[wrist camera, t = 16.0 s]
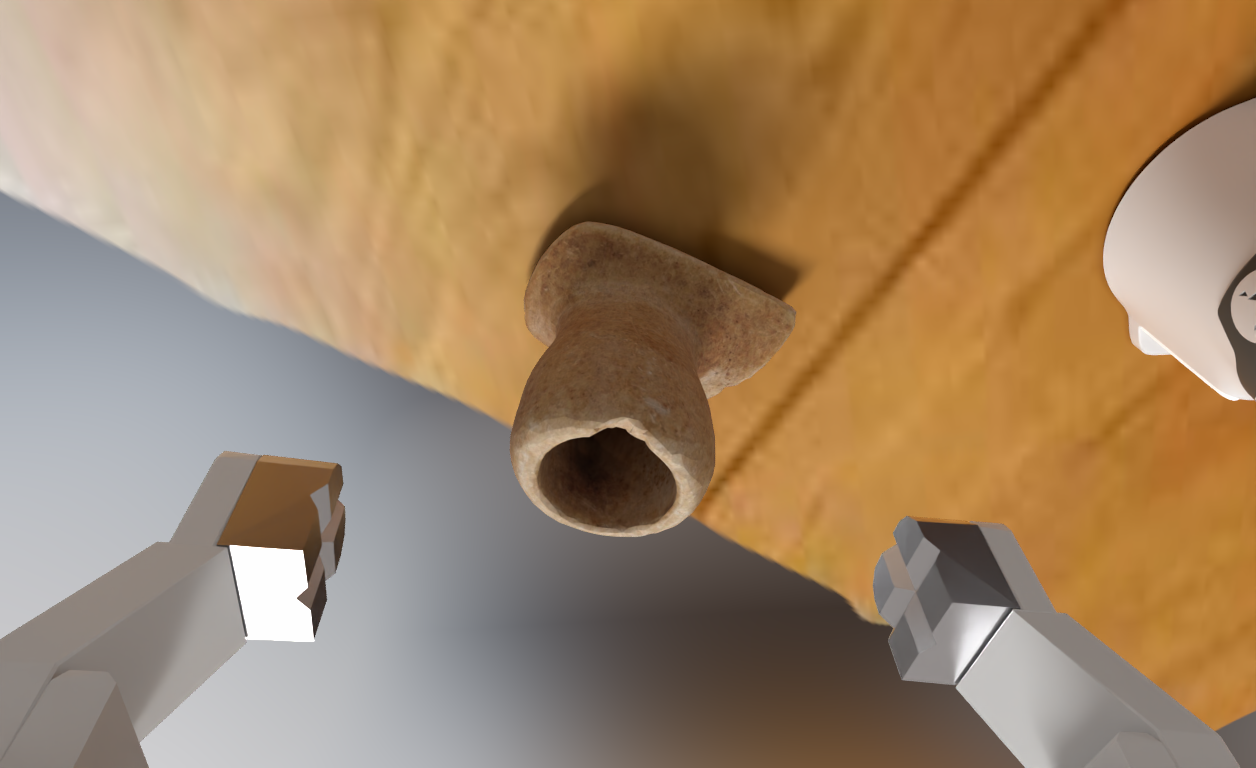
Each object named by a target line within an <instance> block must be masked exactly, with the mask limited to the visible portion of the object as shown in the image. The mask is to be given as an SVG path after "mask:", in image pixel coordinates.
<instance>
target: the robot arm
mask: <svg viewBox="0 0 1256 768" xmlns="http://www.w3.org/2000/svg"><path fill="white" fill-rule="evenodd" d="M1103 265H1104V272H1105V276H1106V280H1107V282H1108V285H1109V287H1110V289H1111V291H1112V292H1113V294H1114V295H1115V297H1116V298H1117V299H1118V300H1119V301H1120V303H1121V304H1122V305H1123V306H1124V308H1125V309H1126V311H1127V313H1128V315H1129V332H1130V338H1131V341H1132V343H1133V344H1134V345H1135V346H1136V347H1137V348H1138V349H1140V350H1141V351H1142V352H1143V353H1145V354H1148V355H1168V354H1172V355H1173V356H1174V357H1175V358H1176V359H1178V360H1179V361H1180V362H1181V363H1182V364H1184V365H1185V366H1186V367H1187V368H1188V369H1190V370H1191V371H1192V372H1193V373H1194V374H1196V375H1197V376H1198V377H1199V378H1201V379H1202V380H1203V381H1204V382H1205V383H1207V384H1208V385H1209V386H1210V387H1212V388H1213V389H1214V390H1215V391H1216V392H1218V393H1219V394H1220V395H1222V396H1223V397H1225V398H1227V399H1230V400H1234V401H1235V400H1238V399H1244V400H1255V401H1256V98H1254V99H1251V100H1249V101H1246V102H1244V103H1241V104H1238V105H1236V106H1233V107H1231V108H1229V109H1226V110H1224V111H1222V112H1220V113H1218V114H1216V115H1214V116H1212V117H1210V118H1208V119H1207V120H1205V121H1203V122H1201V123H1200V124H1198V125H1196V126H1195V127H1193V128H1192V129H1190V130H1189V131H1187V132H1186V133H1185V134H1183V135H1182V136H1180V137H1179V138H1178V139H1176V140H1175V141H1174V142H1173V143H1171V144H1170V145H1169V146H1168V147H1167V148H1165V149H1164V150H1163V151H1162V152H1161V153H1160V154H1159V155H1158V156H1157V157H1156V158H1155V159H1154V160H1153V161H1152V162H1151V163H1150V164H1149V165H1148V166H1147V167H1146V168H1145V169H1144V170H1143V171H1142V172H1141V174H1140V175H1139V176H1138V177H1137V178H1136V180H1135V181H1134V182H1133V184H1132V185H1131V186H1130V188H1129V189H1128V191H1127V192H1126V194H1125V195H1124V197H1123V198H1122V200H1121V202H1120V204H1119V205H1118V207H1117V209H1116V211H1115V213H1114V216H1113V218H1112V220H1111V223H1110V225H1109V228H1108V232H1107V235H1106V239H1105V244H1104V253H1103ZM342 486H343V476H342V467H341V466H340V465H339V464H338V463H328V462H321V461H312V460H304V459H295V458H286V457H278V456H269V455H263V456H262V455H254V454H246V453H237V452H229V451H224V452H223V453H222V454H221V455H219V456H218V457H217V458H216V459H215V460H214V462H213V464H212V466H211V468H210V469H209V471H208V473H207V475H206V477H205V478H204V480H203V482H202V484H201V486H200V487H199V489H198V491H197V493H196V495H195V497H194V498H193V500H192V502H191V504H190V506H189V507H188V509H187V511H186V513H185V515H184V517H183V518H182V520H181V522H180V524H179V526H178V528H177V529H176V531H175V533H174V535H173V537H172V538H171V540H170V542H169V543H168V542H156V543H155V544H153V545H151V546H150V547H148V548H146V549H145V550H143V551H142V552H140V553H138V554H137V555H135V556H134V557H132V558H130V559H129V560H127V561H125V562H124V563H122V564H121V565H119V566H117V567H116V568H114V569H113V570H111V571H110V572H108V573H106V574H105V575H103V576H101V577H100V578H98V579H96V580H95V581H93V582H92V583H90V584H89V585H87V586H85V587H84V588H82V589H80V590H79V591H77V592H76V593H74V594H72V595H71V596H69V597H68V598H66V599H65V600H63V601H61V602H59V603H58V604H56V605H55V606H53V607H51V608H50V609H48V610H47V611H45V612H43V613H42V614H40V615H39V616H37V617H35V618H34V619H32V620H30V621H29V622H27V623H26V624H24V625H22V626H21V627H19V628H18V629H16V630H14V631H13V632H11V633H10V634H8V635H6V636H5V637H3V638H2V639H0V768H149V767H148V764H147V762H146V759H145V756H144V754H143V751H142V748H141V746H140V742H141V741H142V740H143V739H144V738H145V737H146V736H147V735H148V734H149V733H150V732H151V731H152V730H153V729H154V728H155V727H157V726H158V725H159V724H160V723H161V722H162V721H163V720H164V719H165V718H166V717H167V716H168V715H169V714H170V713H171V712H173V711H174V710H175V709H176V708H177V707H178V706H179V705H180V704H181V703H182V702H183V701H184V700H185V699H187V698H188V697H189V696H190V695H191V694H192V693H193V692H194V691H195V690H196V689H197V688H198V687H199V686H201V685H202V684H203V683H204V682H205V681H206V680H207V679H208V678H209V677H210V676H211V675H212V674H213V673H215V672H216V671H217V670H218V669H219V668H220V667H221V666H222V665H223V664H224V663H225V662H226V661H227V660H228V659H230V658H231V657H232V656H233V655H234V654H235V653H236V652H237V651H238V650H239V649H240V648H241V647H242V646H243V645H244V644H246V639H266V640H291V641H292V640H293V641H314V638H315V635H316V632H317V629H318V626H319V623H320V620H321V617H322V614H323V611H324V608H325V605H326V602H327V594H326V582H325V581H326V580H327V579H328V578H330V577H331V576H332V575H334V574H335V573H336V570H337V566H338V563H339V560H340V557H341V552H342V547H343V541H344V535H345V519H346V518H345V506H344V505H343V504H342V503H341V502H340V501H339V500H338V498H339V495H340V491H341V489H342ZM893 535H894V537H895V540H896V543H897V544H896V545H895V546H893V547H891V548H890V549H888V550H886V551H885V552H883V553H882V555H881V557H880V559H879V561H878V563H877V565H876V567H875V572H874V581H873V590H874V598H875V602H876V605H877V609H878V612H879V615H881V616H882V617H883V618H884V619H885V620H886V621H887V622H888V623H889V624H890V625H891V626H892V627H893V630H892V633H891V635H890V637H889V639H888V641H889V644H890V647H891V650H892V653H893V656H894V659H895V662H896V664H897V667H898V670H899V673H900V676H901V679H902V680H908V681H919V682H930V683H941V684H951V685H957V686H956V689H957V690H958V691H959V692H960V693H961V694H962V696H963V697H964V698H965V699H966V700H967V701H968V703H969V704H970V705H971V706H972V707H973V708H974V709H975V711H976V712H977V713H978V714H979V715H980V716H981V717H982V719H983V720H984V721H985V722H986V723H987V724H988V725H989V726H990V728H991V729H992V730H993V731H994V732H995V733H996V734H997V736H998V737H999V738H1000V739H1001V740H1002V741H1003V743H1004V744H1005V745H1006V746H1007V747H1008V748H1009V749H1010V750H1011V752H1012V753H1013V754H1014V755H1015V756H1016V757H1017V759H1018V760H1019V761H1020V762H1021V763H1022V764H1023V766H1024V767H1025V768H1240V766H1239V764H1238V763H1237V761H1236V760H1235V758H1234V757H1233V755H1232V754H1231V752H1230V751H1229V749H1228V748H1227V746H1226V744H1225V743H1224V741H1223V740H1222V738H1221V737H1220V735H1218V734H1217V733H1216V732H1215V731H1213V730H1212V729H1211V728H1210V727H1208V726H1207V725H1206V724H1205V723H1203V722H1202V721H1201V720H1200V719H1198V718H1197V717H1196V716H1195V715H1193V714H1192V713H1191V712H1190V711H1188V710H1187V709H1186V708H1184V707H1183V706H1182V705H1181V704H1179V703H1178V702H1177V701H1176V700H1174V699H1173V698H1172V697H1171V696H1169V695H1168V694H1167V693H1166V692H1164V691H1163V690H1162V689H1161V688H1159V687H1158V686H1157V685H1156V684H1154V683H1153V682H1152V681H1150V680H1149V679H1148V678H1147V677H1145V676H1144V675H1143V674H1142V673H1140V672H1139V671H1138V670H1137V669H1135V668H1134V667H1133V666H1132V665H1130V664H1129V663H1128V662H1127V661H1125V660H1124V659H1123V658H1122V657H1120V656H1119V655H1118V654H1116V653H1115V652H1114V651H1113V650H1111V649H1110V648H1109V647H1108V646H1106V645H1105V644H1104V643H1103V642H1101V641H1100V640H1099V639H1098V638H1096V637H1095V636H1094V635H1093V634H1091V633H1090V632H1089V631H1088V630H1086V629H1085V628H1084V627H1082V626H1081V625H1080V624H1079V623H1077V622H1076V621H1075V620H1074V619H1072V618H1071V617H1070V616H1069V615H1067V614H1065V613H1057V612H1056V611H1055V609H1054V607H1053V605H1052V603H1051V602H1050V600H1049V598H1048V596H1047V594H1046V593H1045V591H1044V589H1043V587H1042V585H1041V584H1040V582H1039V580H1038V578H1037V576H1036V575H1035V573H1034V571H1033V569H1032V567H1031V566H1030V564H1029V562H1028V560H1027V558H1026V557H1025V555H1024V553H1023V551H1022V549H1021V548H1020V546H1019V544H1018V542H1017V540H1016V539H1015V537H1014V535H1013V533H1012V531H1011V530H1010V529H1009V528H1007V527H1006V526H1005V525H1004V524H998V523H986V522H974V521H970V522H968V521H961V520H949V519H937V518H925V517H913V516H906V517H905V518H904V519H902V520H901V521H900V522H899V523H898V525H897V527H896V529H895V530H894V532H893Z"/></svg>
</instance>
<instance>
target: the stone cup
mask: <svg viewBox="0 0 1256 768" xmlns="http://www.w3.org/2000/svg"><path fill="white" fill-rule="evenodd" d="M524 309H525V321H526V326H527V328H528V330H529V331H530V332H531V333H532V335H533V336H534V337H535V338H536V339H538V340H539V341H541V342H542V343H543V344H545V345H546V346H548V347H549V348H548V349H547V350H546V351H545V353H544V354H543V355H542V357H541V358H540V359H539V361H538V362H537V364H536V366H535V367H534V369H533V370H532V372H531V374H530V376H529V378H528V380H527V383H526V385H525V388H524V391H523V394H522V397H521V400H520V404H519V407H518V410H517V413H516V416H515V420H514V424H513V428H512V432H511V438H510V454H511V462H512V465H513V469H514V473H515V476H516V477H517V479H518V481H519V483H520V485H521V487H522V488H523V490H524V491H525V493H526V494H527V496H528V497H529V498H530V499H531V501H532V502H533V503H534V504H535V505H536V506H537V507H538V508H539V509H541V510H542V511H543V512H544V513H545V514H546V515H548V516H550V517H551V518H553V519H555V520H556V521H558V522H560V523H563V524H566V525H568V526H571V527H574V528H577V529H579V530H582V531H585V532H589V533H595V534H599V535H607V536H618V537H637V536H644V535H647V534H651V533H658V532H661V531H663V530H666V529H669V528H672V527H674V526H676V525H677V524H679V523H680V522H682V521H683V520H684V519H685V518H687V517H688V516H689V515H690V514H691V513H692V512H693V511H694V510H695V508H696V507H697V506H698V504H699V503H700V502H701V500H702V498H703V496H704V494H705V493H706V490H707V488H708V486H709V483H710V481H711V478H712V476H713V472H714V467H715V435H714V430H713V424H712V418H711V413H710V408H709V404H708V401H707V399H709V398H711V397H713V396H715V395H717V394H718V393H720V392H721V391H722V390H723V389H724V388H725V387H730V386H735V385H738V384H739V383H740V382H742V381H743V380H745V379H748V378H750V377H752V376H753V375H754V374H755V373H756V372H757V371H758V370H760V369H761V368H762V367H763V366H764V365H765V364H766V363H767V362H768V361H769V360H770V359H771V357H772V356H773V355H774V354H775V353H776V352H777V351H778V350H779V349H780V348H781V346H782V345H783V343H784V342H785V341H786V339H787V338H788V337H789V335H790V334H791V332H792V330H793V328H794V326H795V315H796V311H795V310H794V309H793V308H792V306H790V305H788V304H786V303H785V302H783V301H781V300H779V299H777V298H775V297H773V296H772V295H769V294H767V293H765V292H764V291H762V290H761V289H759V288H757V287H755V286H753V285H751V284H749V283H747V282H745V281H743V280H741V279H739V278H737V277H734V276H732V275H730V274H728V273H726V272H723V271H721V270H719V269H717V268H715V267H713V266H711V265H709V264H707V263H705V262H703V261H701V260H699V259H697V258H695V257H692V256H690V255H688V254H686V253H684V252H682V251H679V250H677V249H675V248H673V247H670V246H668V245H665V244H663V243H660V242H658V241H655V240H653V239H650V238H648V237H645V236H643V235H640V234H638V233H635V232H633V231H630V230H627V229H624V228H621V227H618V226H613V225H609V224H604V223H598V222H590V221H588V222H583V223H578V224H576V225H574V226H572V227H570V228H569V229H568V230H566V231H565V232H563V233H562V234H561V235H560V236H559V237H558V238H557V239H556V240H555V241H554V242H553V243H552V244H551V245H550V247H549V248H548V249H547V250H546V251H545V253H544V254H543V255H542V257H541V258H540V260H539V261H538V263H537V265H536V267H535V269H534V271H533V273H532V275H531V278H530V280H529V283H528V286H527V289H526V292H525V297H524Z"/></svg>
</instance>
